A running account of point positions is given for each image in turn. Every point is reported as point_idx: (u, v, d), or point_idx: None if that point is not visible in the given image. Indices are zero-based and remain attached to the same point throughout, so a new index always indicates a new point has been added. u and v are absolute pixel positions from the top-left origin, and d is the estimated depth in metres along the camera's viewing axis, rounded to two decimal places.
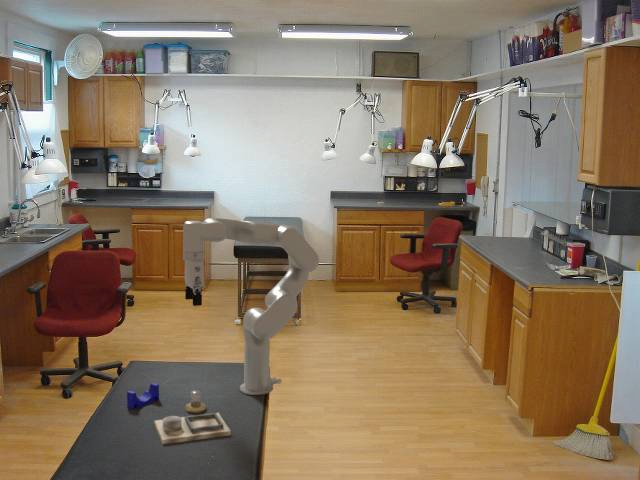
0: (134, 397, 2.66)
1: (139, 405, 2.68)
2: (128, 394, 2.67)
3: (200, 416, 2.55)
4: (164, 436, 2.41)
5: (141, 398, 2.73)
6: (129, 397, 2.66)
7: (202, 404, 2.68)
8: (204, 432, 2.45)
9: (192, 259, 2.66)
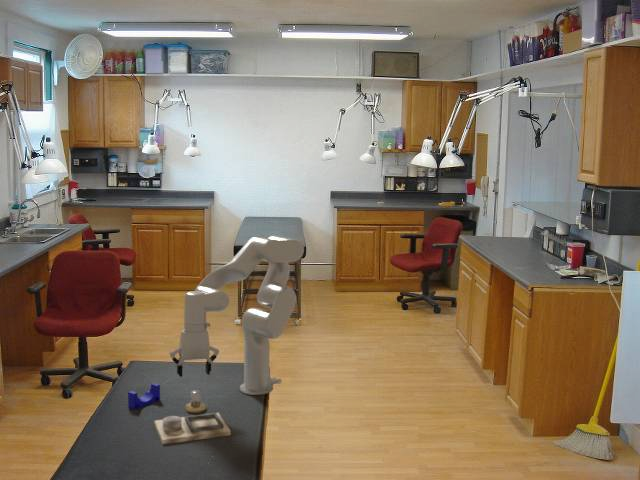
0: (135, 397, 2.66)
1: (140, 405, 2.68)
2: (129, 394, 2.66)
3: (200, 416, 2.55)
4: (164, 436, 2.41)
5: (142, 398, 2.72)
6: (130, 397, 2.66)
7: (202, 404, 2.68)
8: (204, 432, 2.45)
9: (205, 329, 2.62)
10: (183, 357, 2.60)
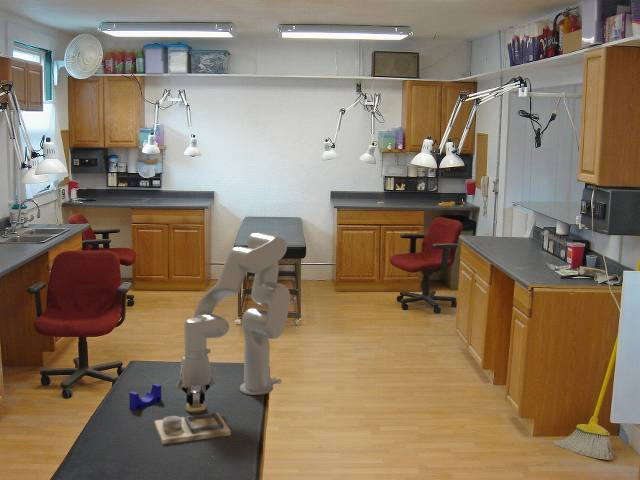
0: (137, 398, 2.65)
1: (141, 406, 2.68)
2: (130, 395, 2.66)
3: (200, 416, 2.55)
4: (164, 436, 2.41)
5: (143, 399, 2.72)
6: (132, 398, 2.66)
7: (202, 404, 2.68)
8: (204, 432, 2.45)
9: (206, 355, 2.64)
10: (184, 384, 2.62)
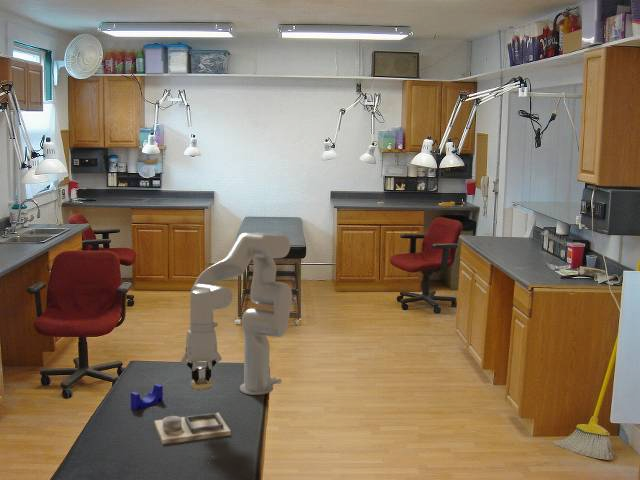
0: (138, 398, 2.65)
1: (143, 406, 2.67)
2: (132, 395, 2.65)
3: (200, 416, 2.55)
4: (164, 436, 2.41)
5: (145, 399, 2.72)
6: (133, 398, 2.65)
7: (208, 381, 2.53)
8: (204, 432, 2.45)
9: (213, 329, 2.49)
10: (189, 359, 2.47)
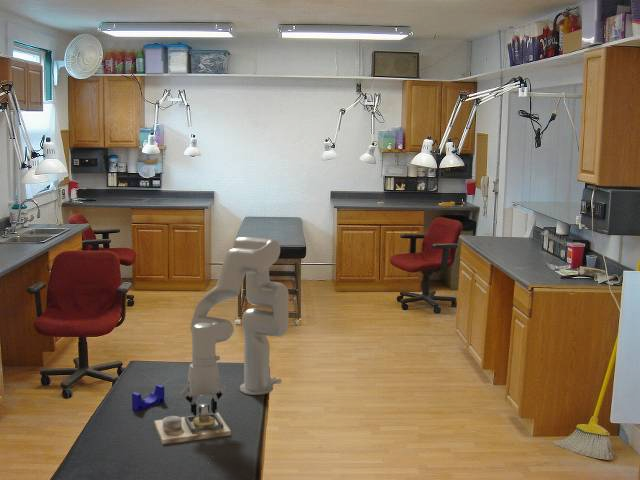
0: (139, 399, 2.64)
1: (144, 407, 2.67)
2: (133, 396, 2.65)
3: None
4: (164, 436, 2.41)
5: (146, 400, 2.71)
6: (134, 398, 2.65)
7: (211, 418, 2.52)
8: (204, 432, 2.45)
9: (215, 363, 2.48)
10: (192, 393, 2.46)
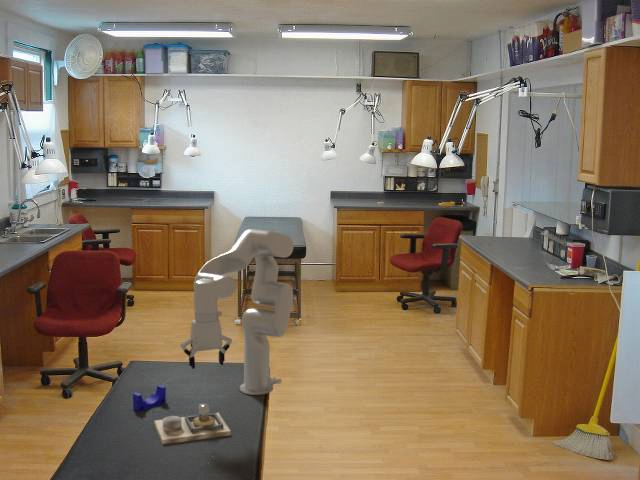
0: (140, 399, 2.64)
1: (145, 407, 2.66)
2: (134, 396, 2.65)
3: None
4: (164, 436, 2.41)
5: (148, 400, 2.71)
6: (135, 399, 2.65)
7: (211, 418, 2.52)
8: (204, 432, 2.45)
9: (217, 318, 2.50)
10: (195, 348, 2.49)
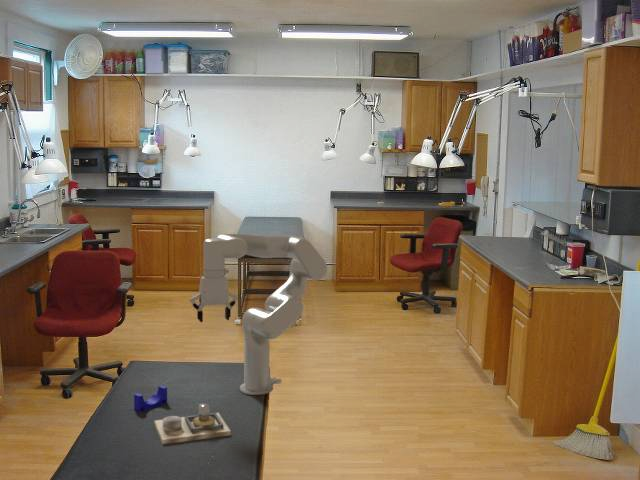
0: (141, 400, 2.64)
1: (146, 408, 2.66)
2: (135, 397, 2.64)
3: None
4: (164, 436, 2.41)
5: (149, 401, 2.70)
6: (136, 399, 2.64)
7: (211, 418, 2.52)
8: (204, 432, 2.45)
9: (224, 275, 2.68)
10: (203, 302, 2.66)
